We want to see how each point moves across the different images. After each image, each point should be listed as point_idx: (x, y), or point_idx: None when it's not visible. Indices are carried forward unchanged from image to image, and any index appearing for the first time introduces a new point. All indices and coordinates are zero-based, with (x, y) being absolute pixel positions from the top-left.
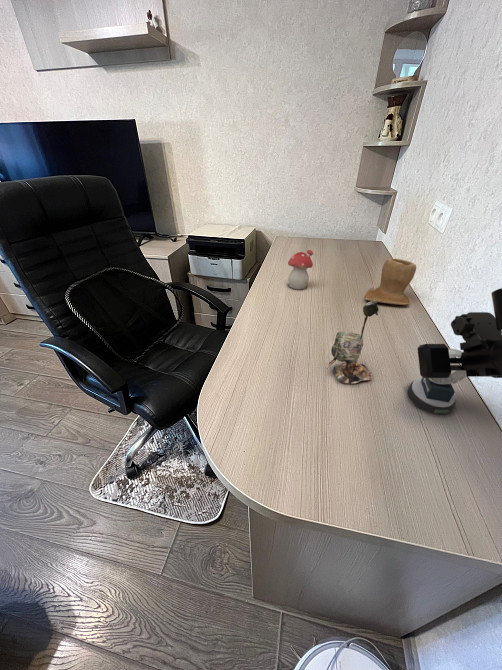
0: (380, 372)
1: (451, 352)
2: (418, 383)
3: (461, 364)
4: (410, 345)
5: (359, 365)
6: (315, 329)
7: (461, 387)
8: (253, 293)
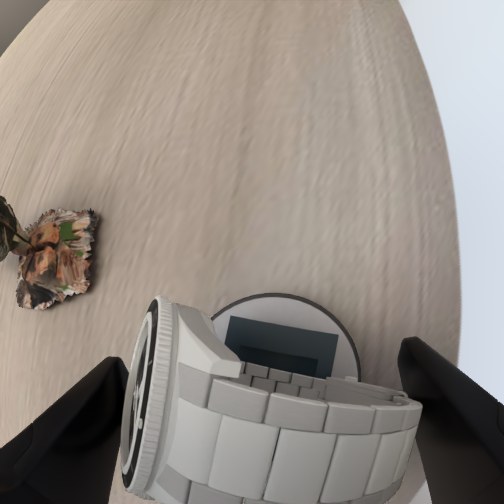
0: (143, 240)
1: (215, 450)
2: (223, 339)
3: (400, 352)
4: (318, 87)
5: (53, 238)
6: (59, 84)
7: (426, 295)
8: (22, 30)
